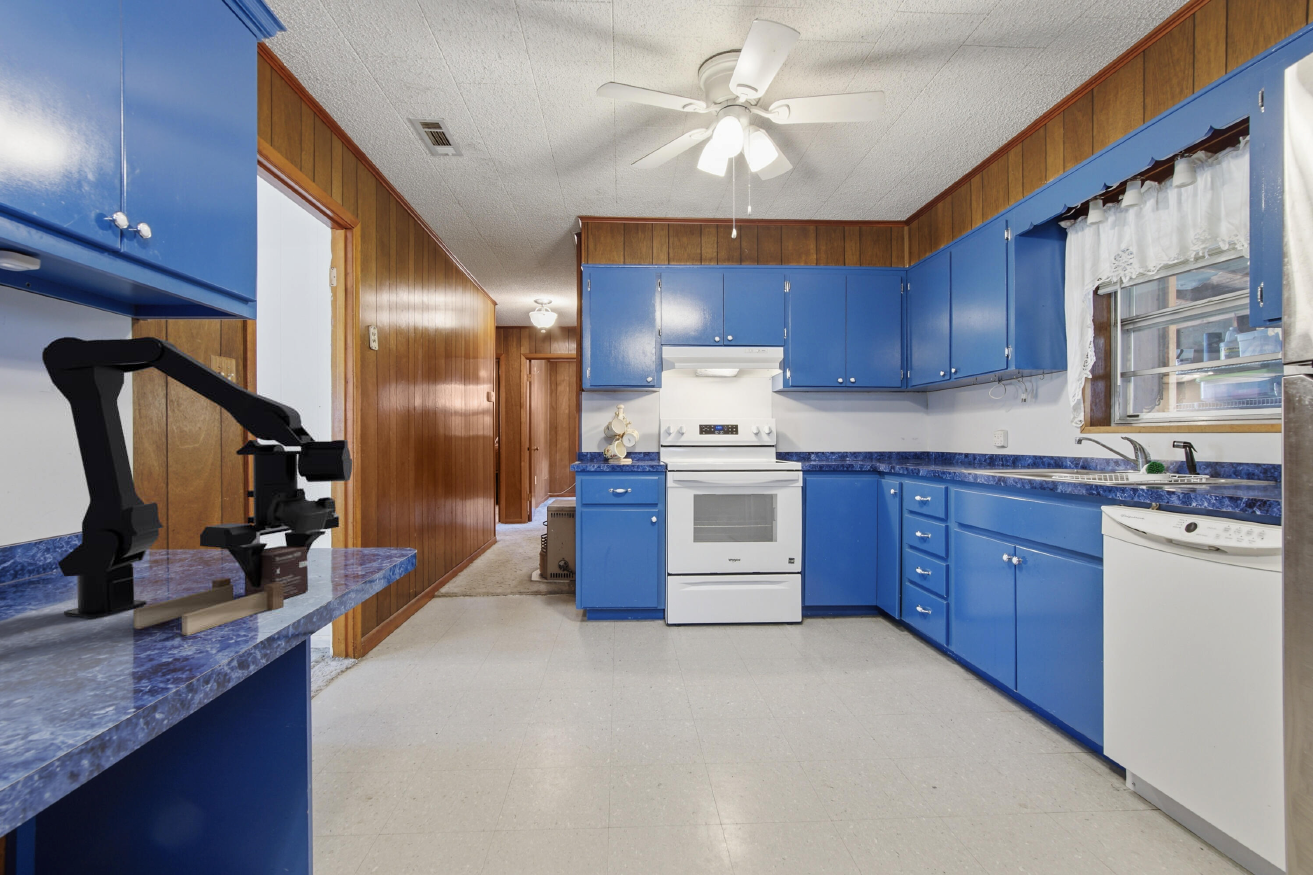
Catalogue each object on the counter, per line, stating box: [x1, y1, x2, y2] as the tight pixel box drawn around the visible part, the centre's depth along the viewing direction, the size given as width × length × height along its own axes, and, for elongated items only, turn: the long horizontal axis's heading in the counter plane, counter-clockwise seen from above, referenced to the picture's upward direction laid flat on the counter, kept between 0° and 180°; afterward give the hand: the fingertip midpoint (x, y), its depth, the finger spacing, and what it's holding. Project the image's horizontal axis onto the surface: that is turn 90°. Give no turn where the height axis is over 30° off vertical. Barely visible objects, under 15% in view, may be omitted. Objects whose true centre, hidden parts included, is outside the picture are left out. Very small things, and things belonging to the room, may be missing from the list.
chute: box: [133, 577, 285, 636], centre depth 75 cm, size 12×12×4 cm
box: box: [244, 545, 309, 600], centre depth 85 cm, size 6×6×7 cm
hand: (276, 581), depth 85 cm, fingers closed on box, 6 cm apart
